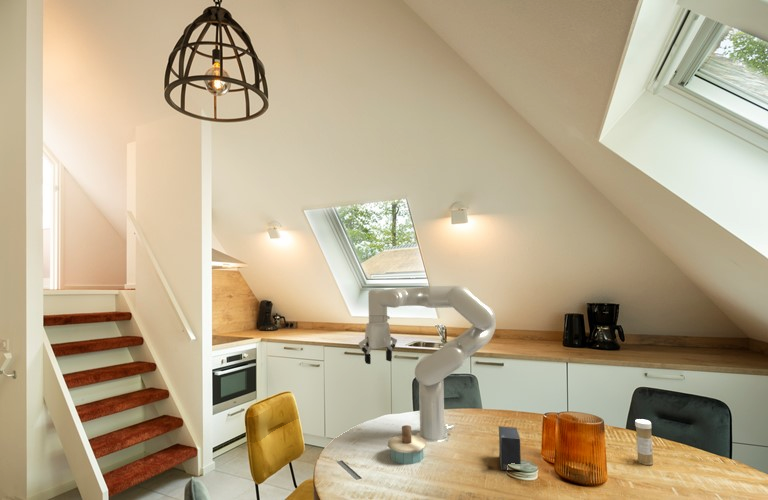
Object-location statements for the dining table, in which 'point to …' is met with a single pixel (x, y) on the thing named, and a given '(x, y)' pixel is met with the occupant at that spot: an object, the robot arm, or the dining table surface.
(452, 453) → the dining table surface
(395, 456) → the bowl
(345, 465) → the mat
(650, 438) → the sprinkles bottle
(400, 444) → the lid
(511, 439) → the small box
